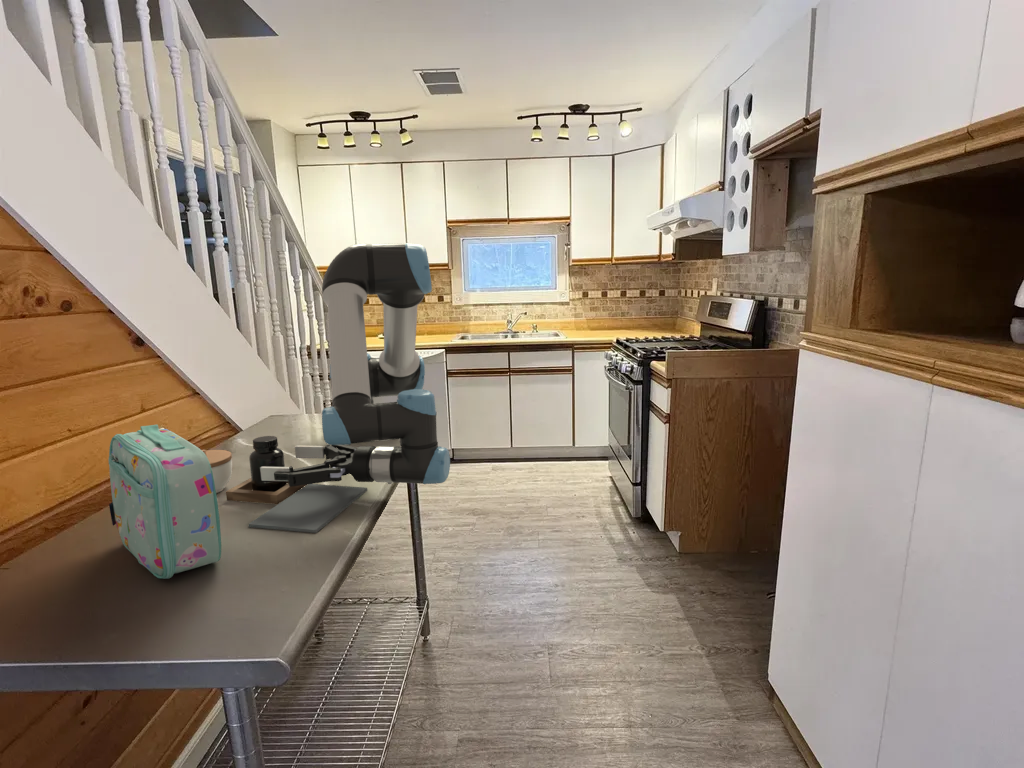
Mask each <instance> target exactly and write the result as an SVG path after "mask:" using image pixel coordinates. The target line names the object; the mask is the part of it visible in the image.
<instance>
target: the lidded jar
mask: <svg viewBox="0 0 1024 768" xmlns="http://www.w3.org/2000/svg"><path fill="white" fill-rule="evenodd" d="M201 450H202V451H203V452H204V453H205V455H206V456H207V458H208V460H209V463H210V465H211V469H212V473H213V478H214V483H215V489H216V494H218V493H220V492H222V491H223V490H225V487H226V486H227V484H228V483H229V482H230V480H231V478H232V475H233V473H232V472H233V459H232V458H233V456H232V455H233V454H232V452H231V451H229V450H225V449H208V450H206V449H201ZM221 490H222V491H221Z"/></svg>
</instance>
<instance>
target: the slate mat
mask: <svg viewBox="0 0 1024 768" xmlns="http://www.w3.org/2000/svg"><path fill="white" fill-rule="evenodd" d="M367 491H368V487H362V486H347V485H334V484H321V483H314V484H308V485H306V486H305V487H303V488H302V489H300V490H299V491H297V492H296V493H294V494H293V495H291V496H290V497H288V498H287V499H285V500H283V501H282V502H280V503H279V504H275V506H274V507H272V508H269V510H267V511H266V512H264V513H262V514H261V515H260V516H259V517H256V518H255V519H254V520H252V521H251V522H249V523H248V528H257V529H267V530H279V531H291V532H299V533H300V532H302V533H313V534H314V533H315V534H317V533H318V532H319V531H320V530H321V529H322V528H324V527H325V526H326V525H328V523H330V522H332V521H333V519H335V518H336V517H337V516H339V514H341V513H342V512H343V511H345V510H346V509H347V508H348V507H349V506H350V505H352V504H353V503H354V502H355V501H356V500H357V499H359V498H360V497H361V496H362V495H364V494H365V493H366V492H367Z"/></svg>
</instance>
